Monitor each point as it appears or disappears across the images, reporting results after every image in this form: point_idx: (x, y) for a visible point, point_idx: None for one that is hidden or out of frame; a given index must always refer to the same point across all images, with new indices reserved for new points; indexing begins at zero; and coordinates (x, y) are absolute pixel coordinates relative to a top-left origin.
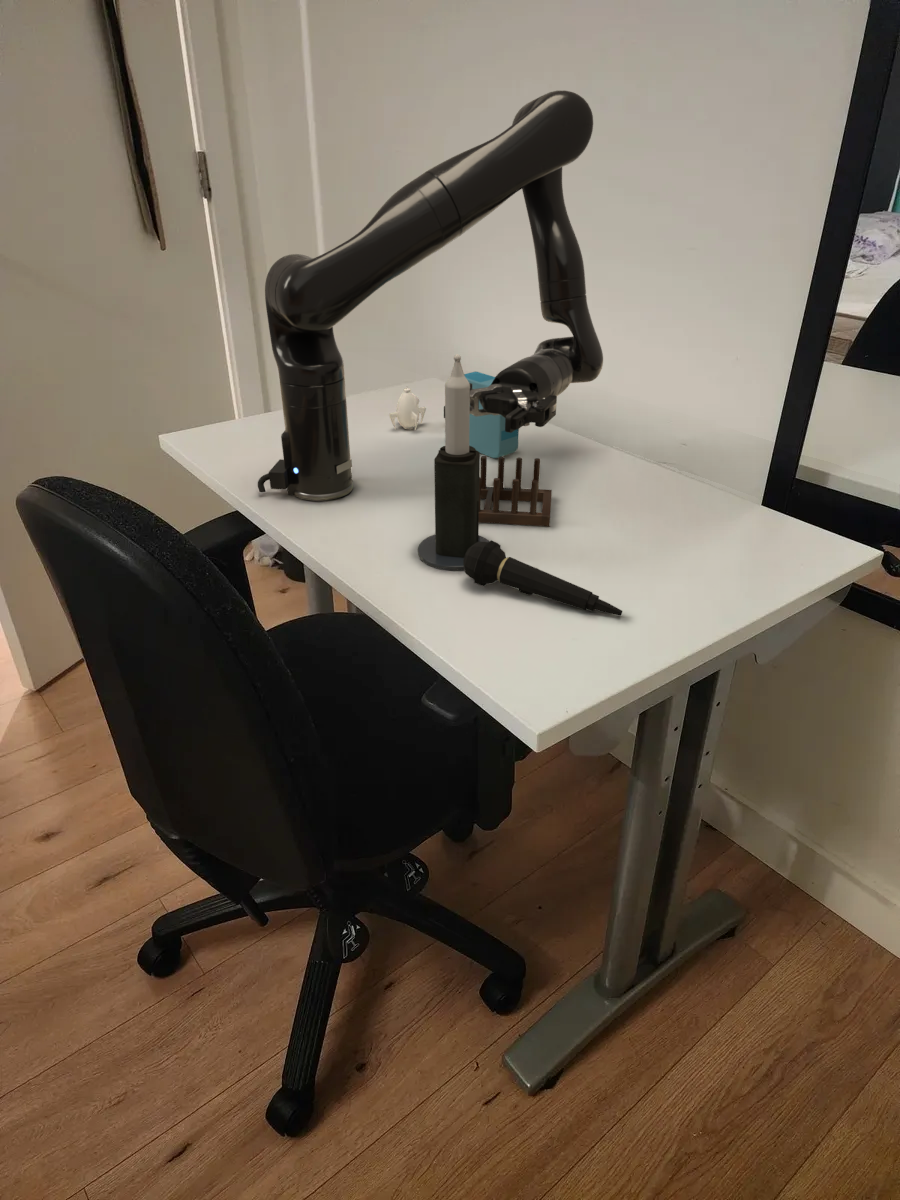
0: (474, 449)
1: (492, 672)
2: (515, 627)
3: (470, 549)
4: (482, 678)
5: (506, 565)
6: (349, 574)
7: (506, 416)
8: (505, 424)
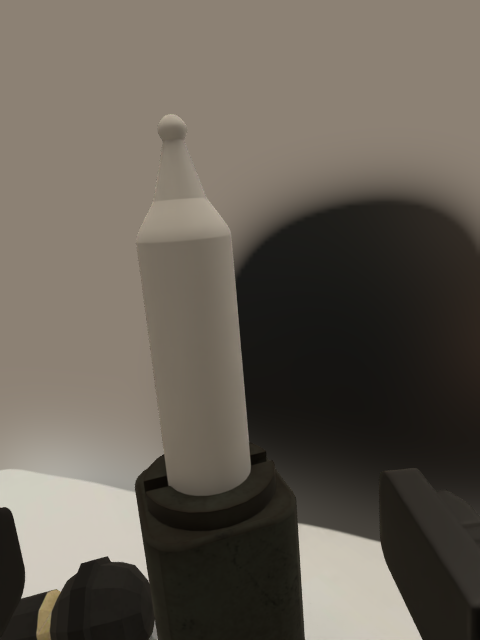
0: (155, 497)
1: (55, 493)
2: (29, 568)
3: (132, 569)
4: (65, 484)
5: (45, 592)
6: (371, 550)
7: (2, 508)
8: (16, 543)
